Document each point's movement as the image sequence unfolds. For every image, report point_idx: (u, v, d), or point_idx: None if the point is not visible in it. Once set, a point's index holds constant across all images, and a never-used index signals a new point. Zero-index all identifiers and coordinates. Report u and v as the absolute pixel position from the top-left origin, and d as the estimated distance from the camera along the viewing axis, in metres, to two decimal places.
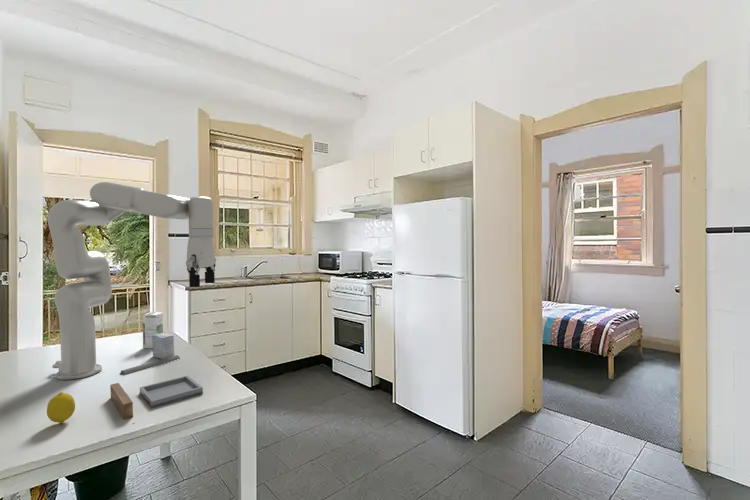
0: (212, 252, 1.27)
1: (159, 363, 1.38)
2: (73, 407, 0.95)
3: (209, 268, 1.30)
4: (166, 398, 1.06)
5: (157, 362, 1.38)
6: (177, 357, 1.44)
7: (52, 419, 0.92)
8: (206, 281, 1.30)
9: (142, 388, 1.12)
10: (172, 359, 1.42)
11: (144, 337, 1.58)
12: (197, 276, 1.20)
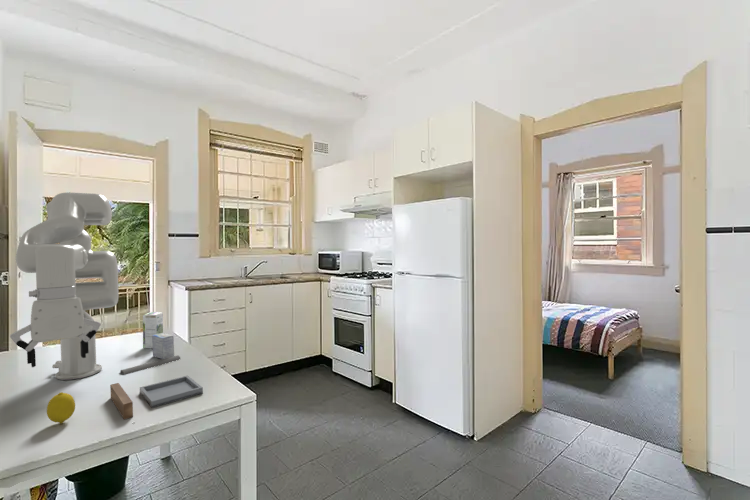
0: None
1: (159, 363, 1.38)
2: (73, 407, 0.95)
3: None
4: (166, 398, 1.06)
5: (157, 362, 1.38)
6: (178, 357, 1.44)
7: (52, 419, 0.92)
8: (35, 363, 0.90)
9: (142, 388, 1.12)
10: (172, 359, 1.42)
11: (144, 337, 1.58)
12: None
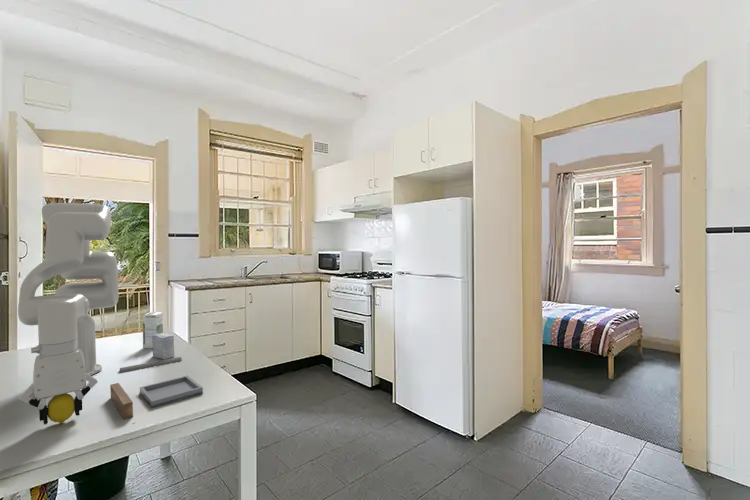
0: None
1: (158, 364, 1.37)
2: (73, 407, 0.95)
3: None
4: (166, 398, 1.06)
5: (157, 363, 1.37)
6: (179, 359, 1.42)
7: (52, 419, 0.92)
8: None
9: (142, 388, 1.12)
10: (173, 361, 1.40)
11: (144, 337, 1.58)
12: None
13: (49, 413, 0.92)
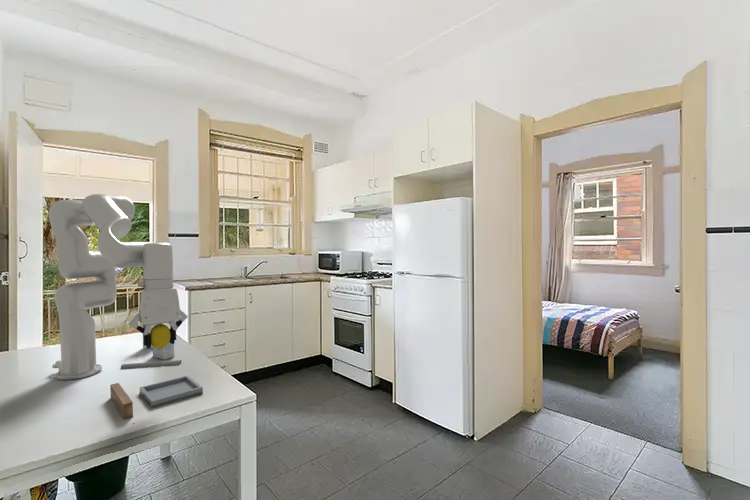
0: None
1: (156, 365, 1.36)
2: (170, 336, 1.11)
3: None
4: (166, 398, 1.06)
5: (155, 363, 1.36)
6: (177, 363, 1.38)
7: (154, 344, 1.08)
8: None
9: (142, 388, 1.12)
10: (170, 364, 1.37)
11: None
12: None
13: (152, 339, 1.08)
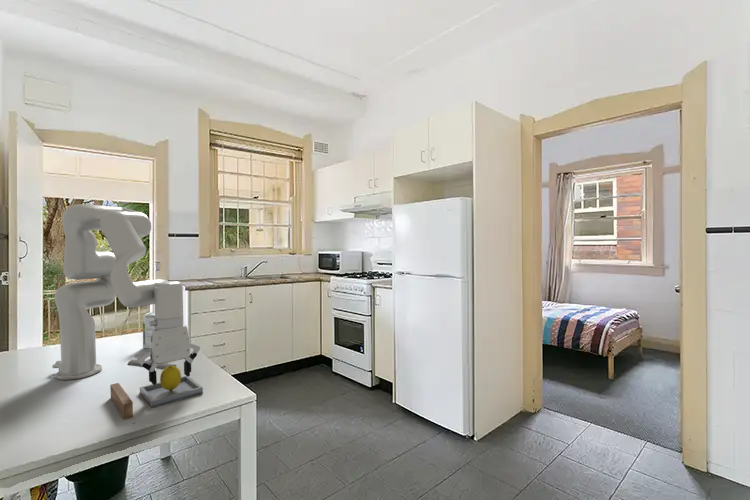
0: None
1: None
2: (180, 378, 1.13)
3: None
4: (166, 398, 1.06)
5: None
6: None
7: (165, 387, 1.10)
8: None
9: (142, 388, 1.12)
10: (163, 367, 1.34)
11: (144, 337, 1.58)
12: None
13: (163, 382, 1.10)
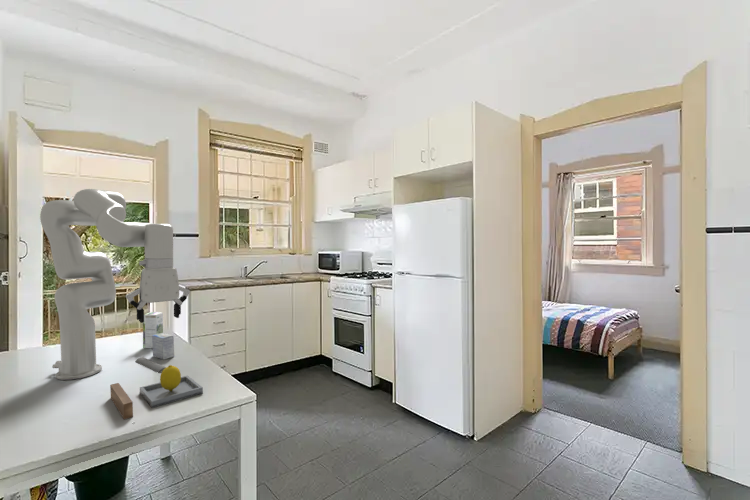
0: None
1: (149, 366, 1.35)
2: (180, 377, 1.13)
3: None
4: (166, 398, 1.06)
5: (150, 364, 1.35)
6: (159, 369, 1.31)
7: (165, 387, 1.10)
8: None
9: (142, 388, 1.12)
10: (155, 369, 1.32)
11: (144, 337, 1.58)
12: None
13: (163, 382, 1.10)
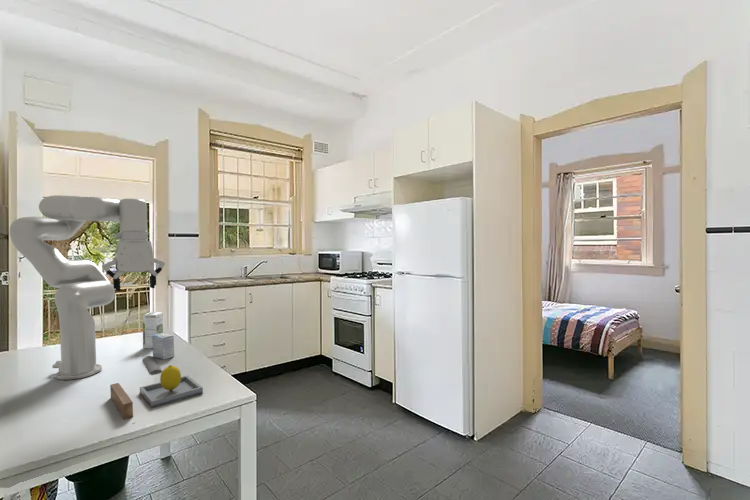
0: None
1: (147, 366, 1.35)
2: (180, 378, 1.13)
3: None
4: (166, 398, 1.06)
5: (149, 364, 1.35)
6: (151, 371, 1.29)
7: (165, 387, 1.10)
8: None
9: (142, 388, 1.12)
10: (149, 370, 1.31)
11: (144, 337, 1.58)
12: None
13: (163, 382, 1.10)
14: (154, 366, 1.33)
